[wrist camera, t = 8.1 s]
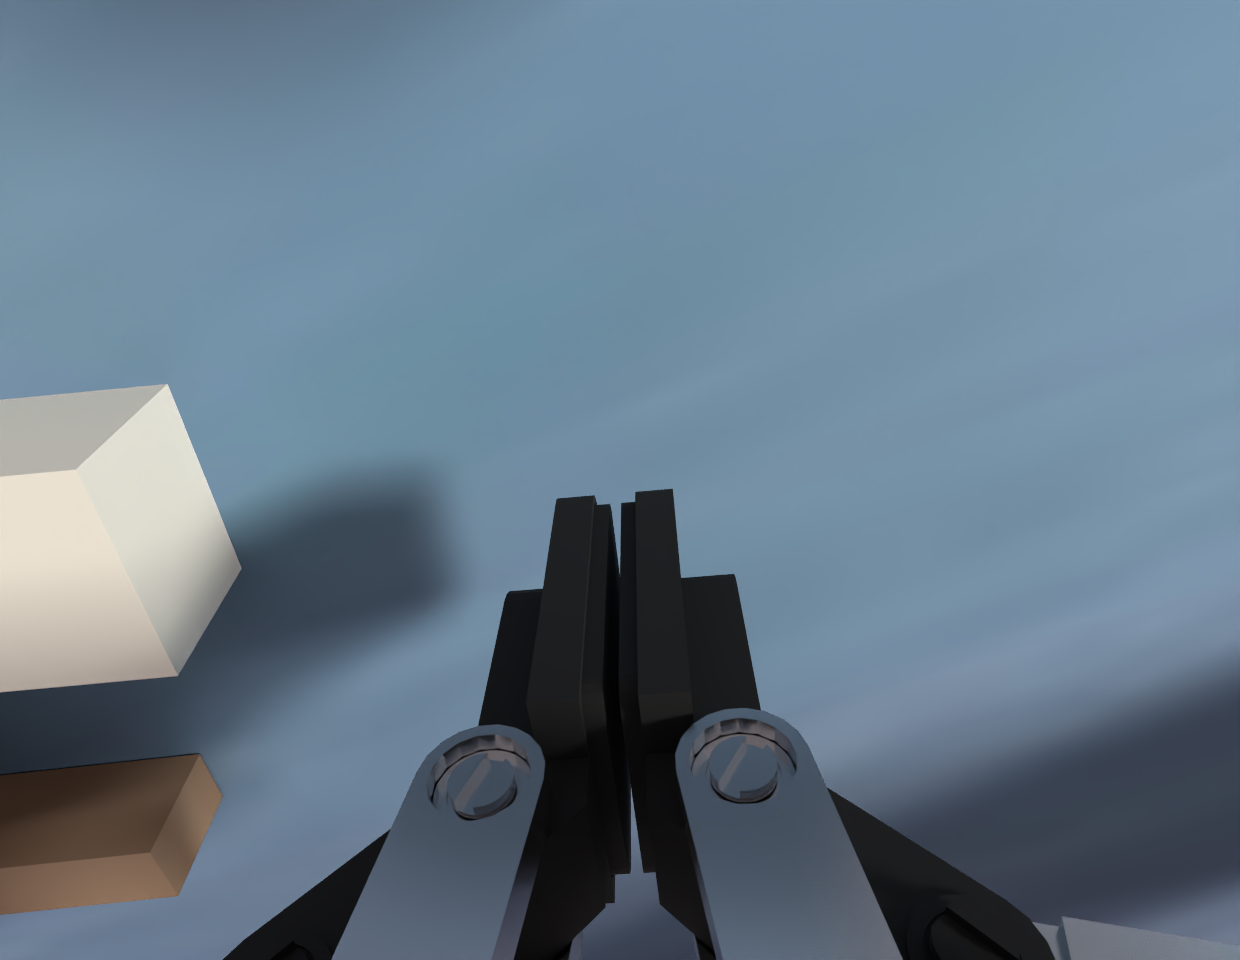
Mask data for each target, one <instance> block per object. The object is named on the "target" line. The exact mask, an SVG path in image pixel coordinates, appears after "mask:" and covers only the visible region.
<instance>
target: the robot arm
mask: <svg viewBox="0 0 1240 960" xmlns="http://www.w3.org/2000/svg"><path fill="white" fill-rule="evenodd" d="M631 789H632V796H633V803H634V810H635V817H636V824H637V831H638V838H639V845H640V852H641V858H642V865H643V871H644V873H650V872H656V878H657V886H658V893H659V901H660V905H661V906H663V907H664V908H665V909H666V910H667V911H668V912H669V913H671V914H672V915H673V916H674V917H675V918H676V919H677V920H679V921H680V922H681V923H682V924H683V925H684V926H685V927H686V928H688V929H689V930H690V931H691V932H692V934H693V944H694V950H695V955H696V959H697V960H1240V946H1239V945H1233V944H1227V943H1221V942H1215V941H1209V940H1203V939H1197V938H1191V937H1185V936H1179V935H1173V934H1167V933H1160V932H1154V931H1148V930H1142V929H1136V928H1130V927H1124V926H1118V925H1112V924H1106V923H1100V922H1094V921H1088V920H1082V919H1076V918H1070V917H1064V916H1062V917H1061V921H1060V924H1059V926H1053V925H1047V924H1041V923H1035V922H1032V921H1031V920H1030V919H1029V918H1028V917H1027V916H1025V915H1024V914H1023V913H1022V912H1020V911H1019V910H1018V909H1017V908H1015V907H1014V906H1013V905H1012V904H1010V903H1009V902H1008V901H1006V900H1005V899H1003V898H1002V897H1000V896H999V895H997V894H995V893H994V892H992V891H991V890H989V889H987V888H986V887H984V886H983V885H981V884H979V883H978V882H976V881H975V880H973V879H972V878H970V877H968V876H967V875H965V874H964V873H962V872H960V871H959V870H957V869H956V868H954V867H952V866H951V865H949V864H948V863H946V862H945V861H943V860H941V859H940V858H938V857H937V856H935V855H933V854H932V853H930V852H929V851H927V850H925V849H924V848H922V847H921V846H919V845H918V844H916V843H914V842H913V841H911V840H910V839H908V838H906V837H905V836H903V835H902V834H900V833H899V832H897V831H895V830H894V829H892V828H891V827H889V826H887V825H886V824H884V823H883V822H881V821H879V820H878V819H876V818H875V817H873V816H872V815H870V814H868V813H867V812H865V811H864V810H862V809H860V808H859V807H857V806H856V805H854V804H852V803H851V802H849V801H848V800H846V799H845V798H843V797H841V796H840V795H838V794H837V793H835V792H833V791H832V790H830V789H829V788H827V787H826V785H825V782H824V780H823V778H822V776H821V773H820V771H819V769H818V767H817V764H816V762H815V760H814V758H813V755H812V753H811V751H810V749H809V746H808V745H807V743H806V742H805V740H804V739H803V737H802V736H801V734H800V733H799V731H798V730H796V729H795V728H794V727H793V726H791V725H790V724H789V723H788V722H786V721H785V720H784V719H782V718H779V717H777V716H775V715H773V714H770V713H768V712H766V711H761V709H760V704H759V699H758V693H757V688H756V683H755V677H754V672H753V667H752V661H751V656H750V651H749V646H748V640H747V635H746V630H745V624H744V619H743V614H742V608H741V603H740V598H739V592H738V587H737V582H736V578H735V575H734V574H728V575H715V576H702V577H689V578H681V575H680V564H679V553H678V542H677V531H676V520H675V509H674V498H673V489H665V490H653V491H642V492H636V493H635V502H629V503H622V504H621V557H620V573H619V566H618V558H617V550H616V542H615V534H614V527H613V519H612V512H611V506H610V504H605V505H597V502H596V498H595V496H582V497H570V498H558V499H557V500H556V505H555V512H554V519H553V525H552V532H551V539H550V545H549V552H548V559H547V566H546V572H545V579H544V586H543V589H534V590H521V591H509V592H508V593H507V595H506V598H505V601H504V606H503V611H502V616H501V620H500V625H499V630H498V635H497V639H496V644H495V649H494V654H493V658H492V663H491V668H490V672H489V677H488V682H487V687H486V691H485V696H484V701H483V706H482V710H481V715H480V720H479V724H478V726H477V727H474V728H470V729H467V730H464V731H461V732H458V733H457V734H455V735H453V736H451V737H450V738H448V739H446V740H444V741H443V742H441V743H440V744H439V745H438V746H437V747H436V748H435V749H434V750H433V751H432V752H430V753H429V754H428V755H427V757H426V758H425V760H424V761H423V763H422V764H421V766H420V767H419V769H418V771H417V772H416V775H415V777H414V779H413V781H412V783H411V786H410V788H409V790H408V792H407V794H406V797H405V799H404V801H403V803H402V805H401V808H400V810H399V812H398V814H397V816H396V819H395V821H394V823H393V825H392V827H391V829H390V830H389V831H387V832H386V833H385V834H383V835H382V836H381V837H379V838H378V839H377V840H375V841H374V842H373V843H371V844H370V845H369V846H367V847H366V848H365V849H363V850H362V851H361V852H360V853H358V854H357V855H356V856H354V857H353V858H352V859H350V860H349V861H348V862H346V863H345V864H344V865H342V866H341V867H340V868H338V869H337V870H336V871H334V872H333V873H332V874H330V875H329V876H328V877H327V878H325V879H324V880H323V881H321V882H320V883H319V884H317V885H316V886H315V887H313V888H312V889H311V890H309V891H308V892H307V893H305V894H304V895H303V896H301V897H300V898H299V899H297V900H296V901H295V902H294V903H292V904H291V905H290V906H288V907H287V908H286V909H284V910H283V911H282V912H280V913H279V914H278V915H276V916H275V917H274V918H272V919H271V920H270V921H268V922H267V923H266V924H264V925H263V926H262V927H261V928H259V929H258V930H257V931H255V932H254V933H253V934H251V935H250V936H249V937H247V938H246V939H245V940H243V941H242V942H241V943H240V944H239V945H238V946H237V947H236V948H235V949H234V950H233V951H232V952H230V953H229V954H228V955H227V956H226V957H225V958H224V959H223V960H581V955H582V941H583V934H582V930H583V929H584V928H585V927H586V926H587V925H588V924H589V923H590V922H591V921H592V920H593V919H594V918H595V917H596V916H597V915H598V914H599V913H600V912H601V911H602V910H603V909H604V908H605V904H606V903H615V874H630V870H631Z"/></svg>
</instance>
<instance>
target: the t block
mask: <svg viewBox="0 0 1240 960" xmlns="http://www.w3.org/2000/svg"><path fill="white" fill-rule="evenodd" d="M241 569H242V568H241V565H240V563H239V560H238V558H237V555H236V553H235V550H234V548H233V546H232V543H231V541H230V538H229V536H228V533H227V531H226V528H225V526H224V523H223V521H222V518H221V516H220V513H219V511H218V508H217V506H216V503H215V501H214V498H213V496H212V493H211V491H210V488H209V486H208V484H207V481H206V479H205V476H204V474H203V471H202V469H201V466H200V464H199V461H198V459H197V456H196V454H195V451H194V449H193V446H192V444H191V441H190V439H189V436H188V434H187V431H186V429H185V426H184V424H183V421H182V419H181V417H180V414H179V412H178V409H177V407H176V404H175V402H174V399H173V397H172V394H171V392H170V389H169V387H168V384H163V385H153V386H142V387H131V388H121V389H110V390H100V391H89V392H78V393H68V394H57V395H47V396H36V397H25V398H15V399H4V400H0V692H10V691H20V690H31V689H42V688H53V687H64V686H75V685H86V684H96V683H107V682H118V681H129V680H140V679H151V678H161V677H172V676H178V675H179V673H180V672H181V670H182V668H183V667H184V665H185V663H186V661H187V660H188V658H189V656H190V655H191V653H192V651H193V650H194V648H195V646H196V645H197V643H198V641H199V640H200V638H201V636H202V635H203V633H204V631H205V630H206V628H207V626H208V624H209V623H210V621H211V619H212V618H213V616H214V614H215V613H216V611H217V609H218V608H219V606H220V604H221V603H222V601H223V599H224V598H225V596H226V594H227V593H228V591H229V589H230V587H231V586H232V584H233V582H234V581H235V579H236V577H237V576H238V574H239V572H240V571H241Z"/></svg>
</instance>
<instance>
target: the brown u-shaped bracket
mask: <svg viewBox="0 0 1240 960" xmlns="http://www.w3.org/2000/svg"><path fill="white" fill-rule="evenodd" d="M222 797H223V796H222V794H221V793H220V791H219V789H218V787H217V785H216V783H215V782H214V780H213V778H212V776H211V774H210V772H209V770H208V769H207V767H206V765H205V763H204V761H203V759H202V758H201V756H200V754H195V755H186V756H177V757H167V758H158V759H149V760H139V761H130V762H121V763H112V764H102V765H93V766H84V767H74V768H65V769H56V770H46V771H37V772H28V773H18V774H9V775H0V915H2V914H12V913H21V912H31V911H40V910H50V909H59V908H69V907H78V906H88V905H98V904H107V903H117V902H126V901H136V900H145V899H155V898H164V897H174V896H178V895H179V893H180V891H181V889H182V886H183V884H184V882H185V880H186V877H187V875H188V873H189V871H190V869H191V866H192V864H193V862H194V860H195V857H196V855H197V853H198V851H199V848H200V846H201V844H202V842H203V839H204V837H205V835H206V833H207V831H208V828H209V826H210V824H211V822H212V819H213V817H214V815H215V813H216V810H217V808H218V806H219V804H220V801H221V799H222Z"/></svg>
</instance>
